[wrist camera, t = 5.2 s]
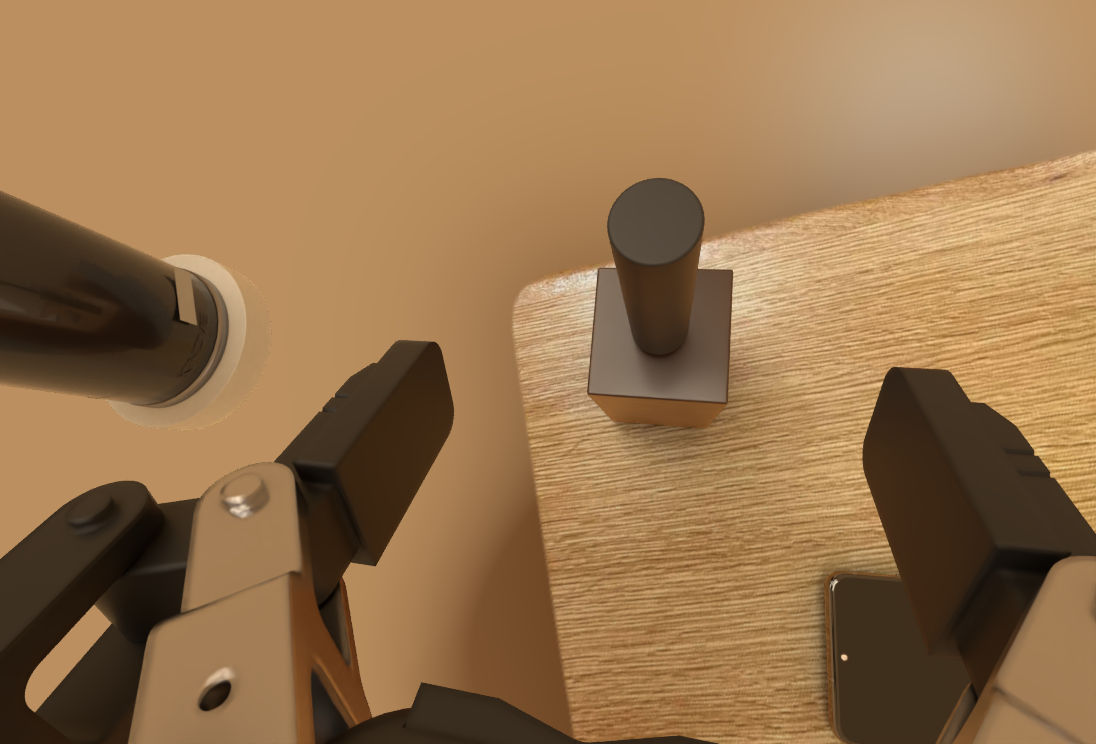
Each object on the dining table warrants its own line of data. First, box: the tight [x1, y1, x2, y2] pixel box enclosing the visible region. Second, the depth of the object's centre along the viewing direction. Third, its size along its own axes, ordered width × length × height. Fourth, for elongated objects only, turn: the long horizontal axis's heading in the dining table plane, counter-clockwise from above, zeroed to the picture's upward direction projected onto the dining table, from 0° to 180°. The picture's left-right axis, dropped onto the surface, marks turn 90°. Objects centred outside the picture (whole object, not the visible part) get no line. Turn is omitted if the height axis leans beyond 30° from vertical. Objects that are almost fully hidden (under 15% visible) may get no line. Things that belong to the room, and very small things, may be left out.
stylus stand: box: [587, 268, 733, 428], centre depth 25 cm, size 5×5×10 cm
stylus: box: [607, 178, 705, 355], centre depth 16 cm, size 2×2×9 cm
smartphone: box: [824, 571, 971, 744], centre depth 23 cm, size 7×1×16 cm
